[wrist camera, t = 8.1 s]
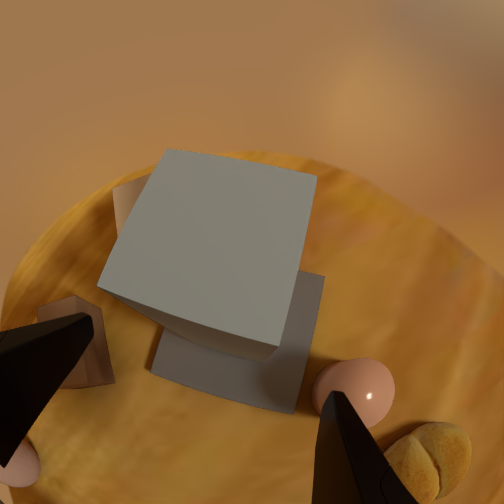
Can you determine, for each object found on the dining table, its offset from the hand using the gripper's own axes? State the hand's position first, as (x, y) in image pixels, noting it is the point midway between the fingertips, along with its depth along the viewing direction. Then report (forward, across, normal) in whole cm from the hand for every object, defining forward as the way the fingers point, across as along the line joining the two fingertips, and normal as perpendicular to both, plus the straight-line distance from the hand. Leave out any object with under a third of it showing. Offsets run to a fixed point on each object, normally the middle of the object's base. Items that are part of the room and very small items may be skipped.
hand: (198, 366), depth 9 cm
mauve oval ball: (-4, +15, +19) cm, 24 cm away
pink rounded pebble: (+7, -8, +7) cm, 13 cm away
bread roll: (+3, -17, +12) cm, 21 cm away
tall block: (+9, 0, +4) cm, 10 cm away
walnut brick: (+6, +11, +9) cm, 15 cm away
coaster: (+9, 0, +5) cm, 10 cm away
